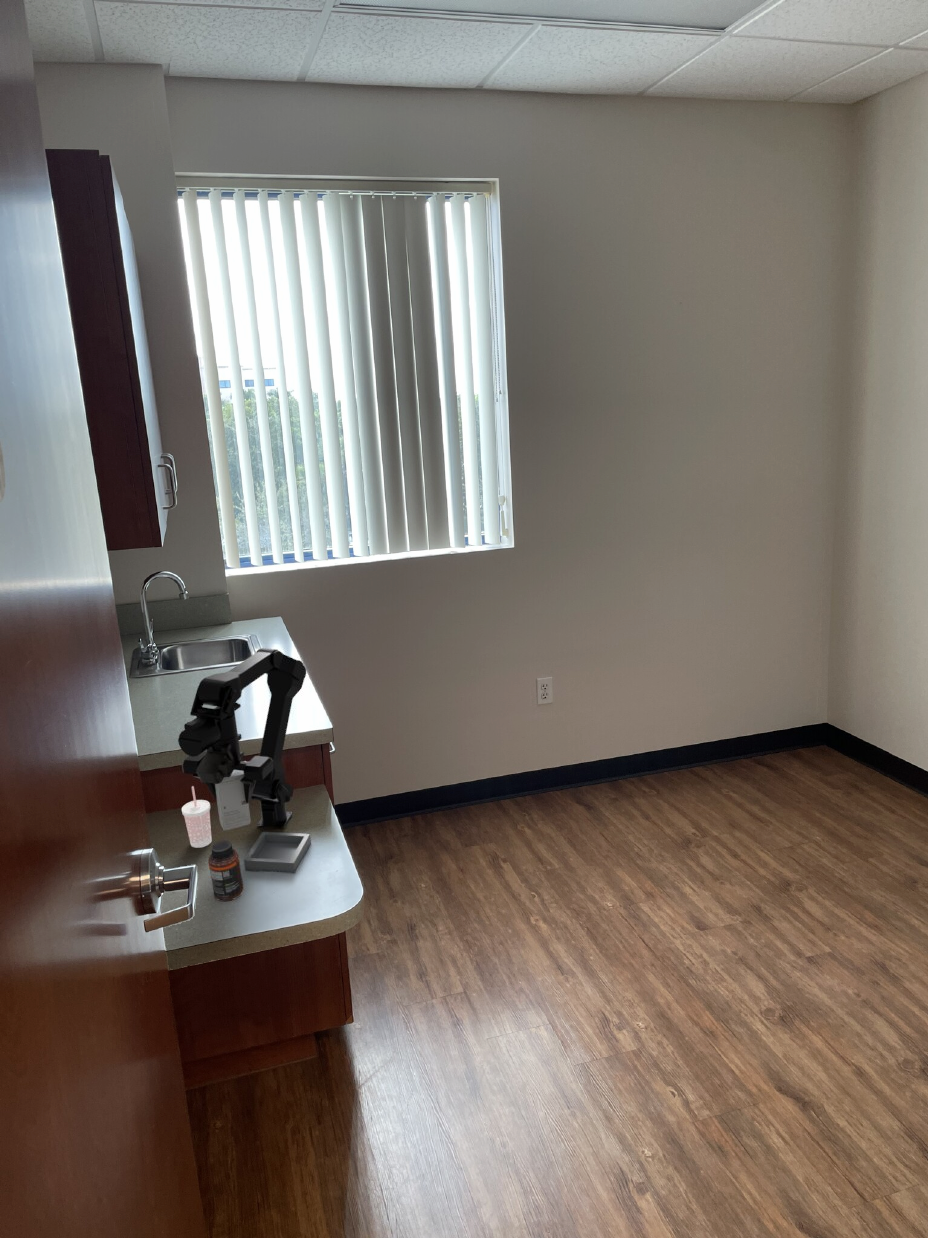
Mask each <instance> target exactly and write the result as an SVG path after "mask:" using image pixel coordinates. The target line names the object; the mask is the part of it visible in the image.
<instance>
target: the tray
mask: <svg viewBox="0 0 928 1238" xmlns="http://www.w3.org/2000/svg"><path fill="white" fill-rule="evenodd" d="M311 839H312V838H311V833H299V832H297V833H294V832H276V831H275V832H274V831H273V832H272V831H262V832H261V834H260V835H259V836H258V838H257V840H256V841H255V843H254V844H253V846H252V847H251V849H250V850H249V852H248V853H247V854H246V857H245V858H244V860H243V863H244V864H243V865H244V871H247V872H265V873H284V874H296V872H297V870H298V869H299V867H300V865H301V864H302V861H303V860H304V857H305V856H306V853H307V852H308V850H309V848H310V846H311V845H312V842H311V841H312V840H311Z"/></svg>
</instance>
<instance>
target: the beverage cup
mask: <svg viewBox="0 0 928 1238" xmlns="http://www.w3.org/2000/svg"><path fill="white" fill-rule="evenodd" d="M191 793H192V797H193V798H192V799H193V800H191V801H189V802H187V803H185V804H184V805H183V806H182V807H181V812H182V816H183V817H184V821H185V825H186V829H187V833H188V834H187V835H188V839H189V843H190V846H191V847H192V848H196V849H197V848H204V847H207V846H209V845H210V844H211V843H212V841H213V840H212V830H211V829H212V827H211V813H210V810H211V802H209V801H208V800H206V799H205V800H204V799H197V798H196V793H195V787H194V785H192V786H191Z"/></svg>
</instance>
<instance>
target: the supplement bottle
mask: <svg viewBox="0 0 928 1238" xmlns="http://www.w3.org/2000/svg"><path fill="white" fill-rule="evenodd" d="M210 849H211V853H210V855H209V857H208V860H207V861H208V868H209V874H210V881H211V886H212V893H213V895H214V898H215V899H216V900H218V901H223V902H226V901H227V902H229V901H232V900H234V899H236V898H238V897H240V896H241V894H242V893H243V892H244V883H243V878H242V877H243V876H242V869H241V868H242V867H241V863H240V862H241V861H240V856H239V853H238V852H237V850H236V849H234V848H233V845H232V842H231V841H230V840H227V839H222V840H218V841H216V842H214V843H213V844H212V845H211V847H210Z"/></svg>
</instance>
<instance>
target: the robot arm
mask: <svg viewBox="0 0 928 1238" xmlns="http://www.w3.org/2000/svg"><path fill="white" fill-rule="evenodd" d="M265 674H266V676H267V677H266V684H267V687H268V689H269V693H270V699H269V706H268V711H267V715H266V720H265V726H264V731H263V736H262V741H261V746H260V751H259V755H254V756H253V757H252V758H251V759H250V760H249V761H246V760H242V758H243V757H244V756H245V752H244V750H243V751H241V749H240V748H241V747H240V741H241V740H242V734H241V733H238V727H237V720H236V713H235V712H236V710H238V709H240V708H241V703H239V702H237V701H238V700H240V698H242V694H243V690H245V688H247V687H248V686H249V685H251V684H252V683H253V682H255V681H257V680H258V679H259V678H261V677H263V676H264V675H265ZM306 676H307V667H305V665H304V663H303V661H302V660H299V659H295V658H293V657H291V656H289V655H286V654H285V653H283V652H282V651H280V650H278V649H275V648H267V647H262V648H258V649H257V650H256V652H255V653H254V654H253V655H250V656H249V657H248V658H247V659H245V660H244V661H242V662H240V663H239V664H237V665H236V666H234V667H233V668H231V669H230V670H227V671H225V672H220V673H214V674H211V675H209V676H206V677H204V678H203V679H201V680H200V682H199V684H198V687H197V689H196V692H195V696H194V700H193V703H192V705H191V709H190V713H189V714H190V716H191V717H196V718H194V719H193V720H191V721H188V722H186V723H184V725H183V728H184V730H182V731H181V732H180V733H179V735H178V738H177V743H178V745H179V747H180V749H181V750H182V752H183V753H184V754H185V755H187V757H186V758H185V759H184V760H183V761H182V763H181V767H182V773H183V774H185V775H192V777H194V778H197V779H199V780H200V782H201V783H203V784H205V785H206V787H207V789H209V791H210V793H211V795H212V797H213V798H214V800H216V801H217V797H216V789H215V784H219V783H221V782H222V780H223V778H224V777H230V776H231V774H232V772H233V770H241V771H244V777H243V778H242V779H241V780H240V781H241V782H242V783H243V784H244V794H245V800H246V803H250V802H251V800H255V801H259V806H260V814H261V818H260V820H259V821H258V822H257V824H256V826H257V828H261V829H262V828H263V829H264V828H266V829H284V828H285V827H286V825H287V823H288V821H290V819H291V817H292V816H293V812H292V811H287V807H286V806H287V805H286V803H289V802H290V801H291V797H293V795H294V794H293V793H294V786H293V785H292V784H290V783H288V782H286V771H285V767H284V765H283V763H282V756H283V750H284V746H285V740H286V736H287V729H288V724H289V720H290V714H291V709H292V705H293V700H294V697H296V695H297V694H298V693H299V691H301V690H302V687H303V685H304V682H305V679H306ZM204 706H210V707H214V708H210V707H204Z"/></svg>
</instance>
